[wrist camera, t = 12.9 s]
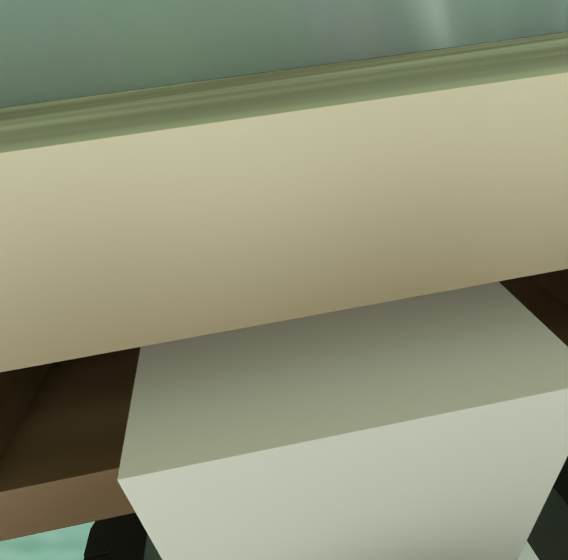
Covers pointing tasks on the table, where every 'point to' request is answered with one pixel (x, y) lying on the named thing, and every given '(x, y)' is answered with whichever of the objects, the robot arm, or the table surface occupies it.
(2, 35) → the table surface
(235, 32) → the table surface
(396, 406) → the cabinet
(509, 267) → the wall board
